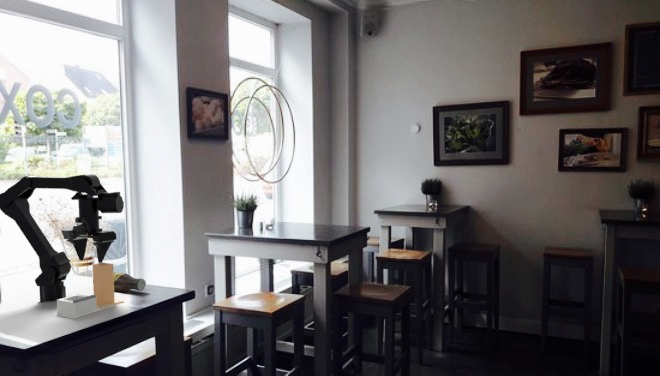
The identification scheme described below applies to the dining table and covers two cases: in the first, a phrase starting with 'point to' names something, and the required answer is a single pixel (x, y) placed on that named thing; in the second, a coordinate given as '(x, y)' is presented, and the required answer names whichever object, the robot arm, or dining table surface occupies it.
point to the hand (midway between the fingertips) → (90, 261)
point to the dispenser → (81, 305)
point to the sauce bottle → (127, 282)
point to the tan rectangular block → (103, 283)
